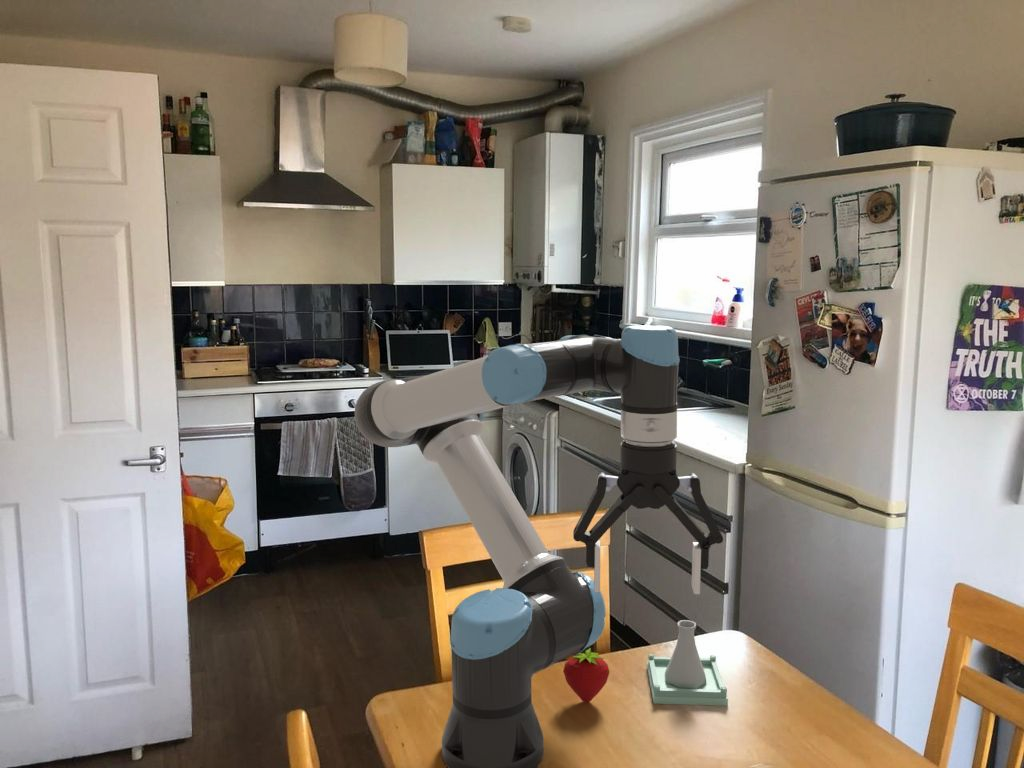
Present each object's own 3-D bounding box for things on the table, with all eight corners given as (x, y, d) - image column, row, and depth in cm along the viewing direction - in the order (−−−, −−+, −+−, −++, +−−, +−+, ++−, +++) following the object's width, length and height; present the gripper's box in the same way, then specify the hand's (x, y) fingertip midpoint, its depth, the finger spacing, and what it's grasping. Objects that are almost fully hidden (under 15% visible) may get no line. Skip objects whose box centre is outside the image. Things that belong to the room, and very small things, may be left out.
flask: (658, 684, 139) (659, 628, 138) (670, 665, 146) (671, 611, 144) (701, 694, 136) (703, 636, 135) (711, 674, 143) (713, 619, 141)
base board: (653, 703, 136) (653, 688, 135) (647, 667, 148) (647, 653, 147) (727, 705, 135) (728, 690, 134) (715, 669, 147) (715, 655, 146)
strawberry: (562, 691, 140) (562, 636, 138) (607, 692, 139) (608, 636, 138) (563, 710, 134) (563, 652, 132) (610, 711, 134) (611, 653, 132)
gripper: (555, 445, 109) (555, 598, 112) (748, 447, 107) (742, 602, 110) (556, 433, 117) (557, 577, 120) (736, 435, 115) (732, 580, 118)
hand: (646, 589), depth 115 cm, fingers open, 13 cm apart
